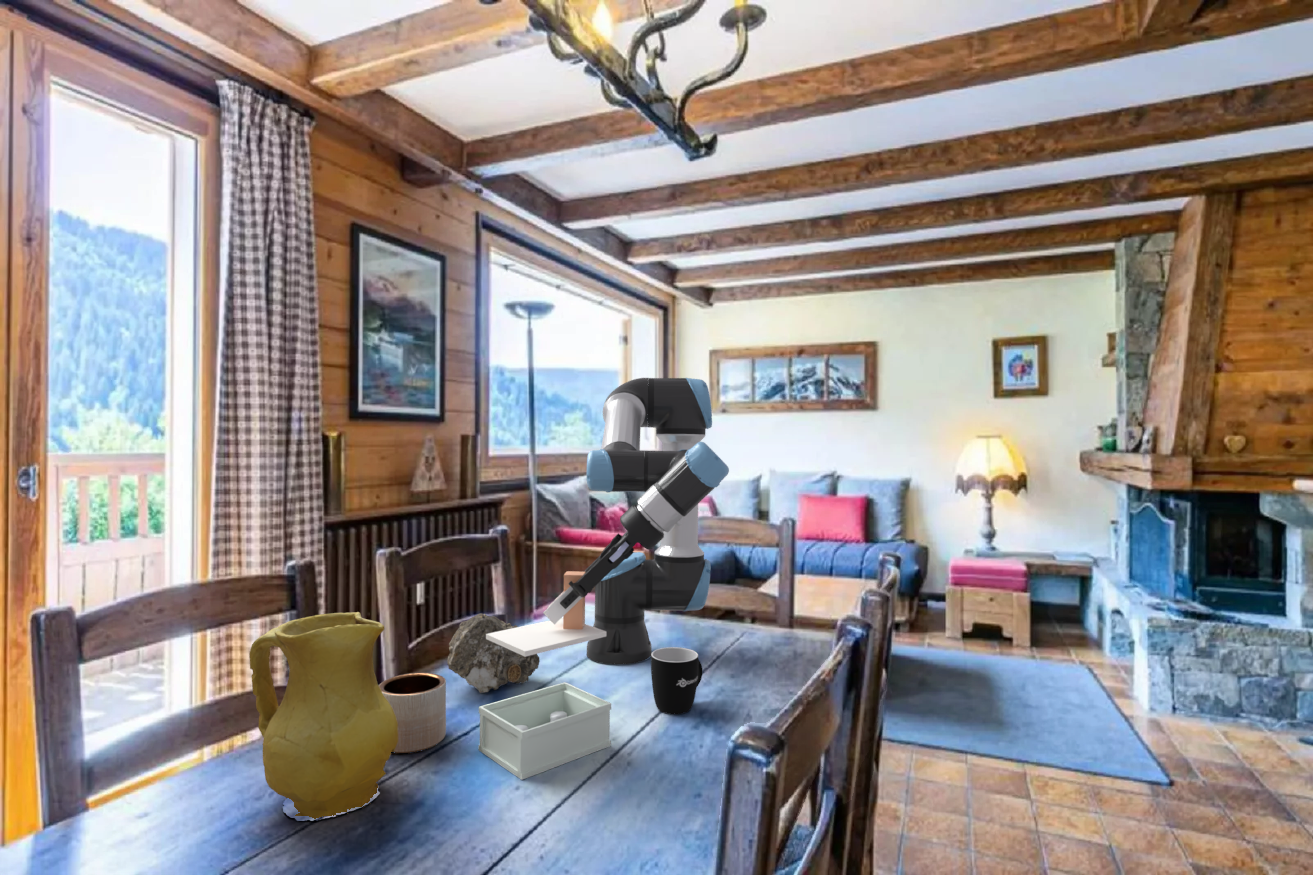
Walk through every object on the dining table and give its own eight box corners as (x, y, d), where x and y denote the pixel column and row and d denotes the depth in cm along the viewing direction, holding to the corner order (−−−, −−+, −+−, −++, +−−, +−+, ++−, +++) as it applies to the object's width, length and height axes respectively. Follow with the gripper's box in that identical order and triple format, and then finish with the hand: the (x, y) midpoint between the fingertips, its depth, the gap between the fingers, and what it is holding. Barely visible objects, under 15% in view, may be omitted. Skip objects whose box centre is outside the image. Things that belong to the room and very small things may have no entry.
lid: (565, 621, 122) (565, 566, 122) (606, 636, 114) (607, 577, 114) (485, 638, 112) (486, 578, 112) (524, 656, 103) (525, 591, 103)
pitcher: (309, 845, 85) (311, 638, 86) (230, 808, 94) (233, 623, 96) (423, 790, 99) (424, 613, 100) (344, 763, 109) (345, 602, 110)
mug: (674, 722, 124) (675, 665, 124) (640, 707, 130) (641, 653, 130) (718, 704, 132) (718, 651, 132) (683, 691, 138) (684, 641, 138)
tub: (564, 721, 123) (565, 682, 123) (610, 745, 114) (611, 703, 114) (478, 750, 112) (478, 706, 112) (521, 780, 102) (522, 732, 102)
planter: (459, 732, 118) (459, 676, 118) (417, 760, 108) (418, 699, 108) (406, 723, 122) (407, 668, 122) (361, 749, 112) (362, 690, 112)
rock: (494, 612, 133) (474, 583, 145) (439, 671, 129) (423, 637, 142) (556, 661, 141) (532, 630, 154) (505, 719, 138) (485, 682, 151)
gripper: (665, 542, 108) (558, 646, 109) (667, 527, 124) (574, 618, 125) (631, 507, 108) (525, 611, 109) (638, 497, 124) (545, 588, 125)
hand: (551, 615), depth 117 cm, fingers closed on lid, 3 cm apart
